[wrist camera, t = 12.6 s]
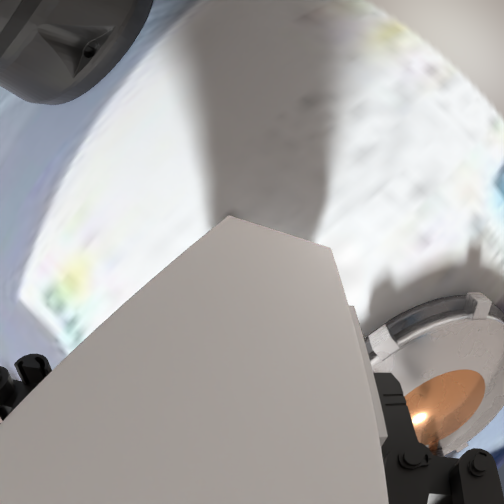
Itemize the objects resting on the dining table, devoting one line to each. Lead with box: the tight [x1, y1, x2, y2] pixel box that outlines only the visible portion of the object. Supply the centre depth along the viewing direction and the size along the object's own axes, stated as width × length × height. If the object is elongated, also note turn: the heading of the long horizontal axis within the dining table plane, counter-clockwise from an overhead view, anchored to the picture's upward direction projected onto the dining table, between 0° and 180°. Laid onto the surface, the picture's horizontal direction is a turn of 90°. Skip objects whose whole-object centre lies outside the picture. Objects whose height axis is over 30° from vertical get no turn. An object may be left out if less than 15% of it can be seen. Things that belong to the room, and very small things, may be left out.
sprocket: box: [368, 292, 504, 457], centre depth 16 cm, size 20×20×7 cm
